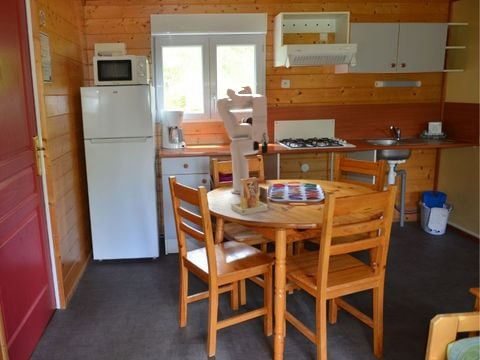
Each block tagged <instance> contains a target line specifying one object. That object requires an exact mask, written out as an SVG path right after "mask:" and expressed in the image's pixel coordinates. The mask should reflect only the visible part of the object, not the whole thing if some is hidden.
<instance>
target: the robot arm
mask: <svg viewBox="0 0 480 360" xmlns="http://www.w3.org/2000/svg"><path fill="white" fill-rule="evenodd" d="M267 99H268V98H267V96H266V95H262V94H256V93H255V94H253V92H252V88H251V86H249V85H248V84H247V85H246V84H242V85H240V84H239V85H232V86H229V87H228V88H227V90H226V96H221V97H219V98H218V99H217V101H216V110H217V113H218V115H219V117H220V119H221V120H222V122H223V124H224V128H225V130H226V133H227V136H228V138H229V139H230V140H231V142H230V144H229V150H230V151H229V152H230V155H231V164H232V188H231V190H230V192H231V193H232V194H235V195H237V194H238V195H241V192H240V179H246V178H250V175H249V171H250V170H249V160H248V159H247V158H246V157H245V156H248V155H255V154H258V152H259V150H260V143H261V154H268V152H269V150H268V146H269V140H270V137H269V136H268V124H267V122H268V106H267V105H268V102H267V101H268V100H267ZM239 110H241V111H242V110H252V111H251V112H252V124H251V123H245V122H244V123H239V119H238V118H237V116H236V115H235V114H234V113H233V112H231V111H239Z"/></svg>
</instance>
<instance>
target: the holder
mask: <svg viewBox="0 0 480 360" xmlns="http://www.w3.org/2000/svg"><path fill="white" fill-rule="evenodd" d="M259 201H260V202H262V203H266V202H268V188H265V187H262V186H259Z"/></svg>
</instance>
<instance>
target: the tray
mask: <svg viewBox="0 0 480 360" xmlns="http://www.w3.org/2000/svg"><path fill="white" fill-rule="evenodd" d="M230 206H231V207H230V208H231V210H232V211H234V212H236V213H238V214H240V215H241V216H246V215H251V214H255V213H256V214H257V213H261V212H266V211H270V207H269V204H266V202H263V203H262V202H260V201H259V207H253V208H248V209H243V208H241V202H236V203H231V204H230Z"/></svg>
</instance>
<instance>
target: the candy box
mask: <svg viewBox="0 0 480 360" xmlns="http://www.w3.org/2000/svg"><path fill="white" fill-rule="evenodd" d="M259 187H260V186H259V178H258V177H255V176H253V177H249V178H246V179H240V192H241V194H240V203H241V208H243V209H248V208H253V207H259Z"/></svg>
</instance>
